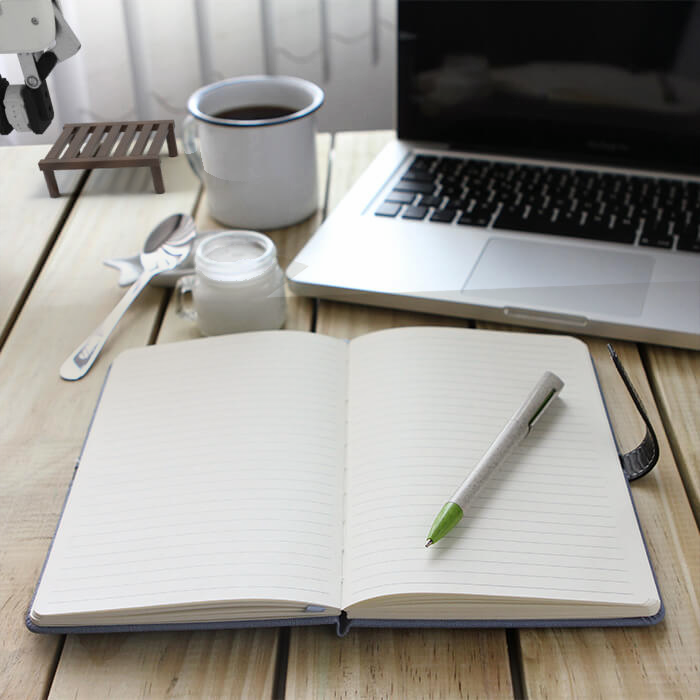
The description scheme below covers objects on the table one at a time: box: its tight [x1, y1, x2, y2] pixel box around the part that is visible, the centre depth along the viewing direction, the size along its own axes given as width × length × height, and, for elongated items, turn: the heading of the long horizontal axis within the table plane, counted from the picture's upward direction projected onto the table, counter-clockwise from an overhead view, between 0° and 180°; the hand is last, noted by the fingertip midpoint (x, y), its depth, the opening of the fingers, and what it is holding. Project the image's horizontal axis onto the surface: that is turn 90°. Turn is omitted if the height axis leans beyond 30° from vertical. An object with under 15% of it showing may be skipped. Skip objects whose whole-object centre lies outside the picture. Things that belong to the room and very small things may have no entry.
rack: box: [37, 119, 179, 199], centre depth 97 cm, size 14×12×4 cm
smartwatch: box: [3, 83, 33, 133], centre depth 68 cm, size 4×2×4 cm, turn 2°
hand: (26, 127), depth 69 cm, fingers closed on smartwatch, 2 cm apart
